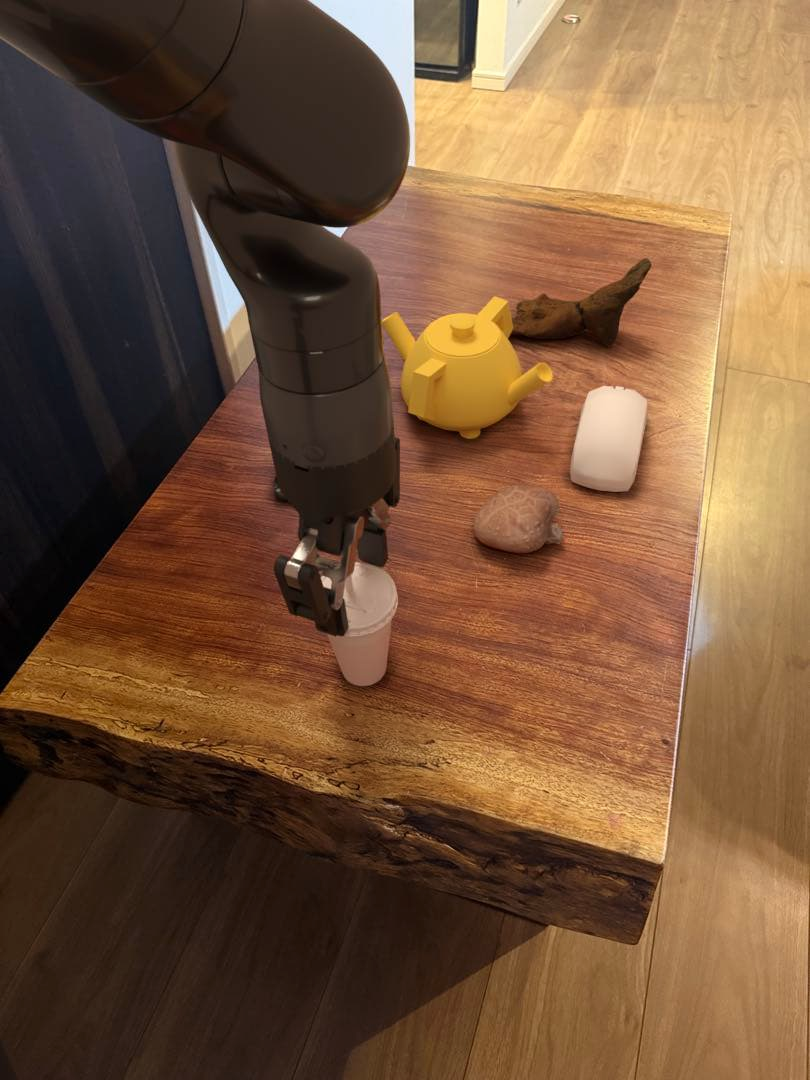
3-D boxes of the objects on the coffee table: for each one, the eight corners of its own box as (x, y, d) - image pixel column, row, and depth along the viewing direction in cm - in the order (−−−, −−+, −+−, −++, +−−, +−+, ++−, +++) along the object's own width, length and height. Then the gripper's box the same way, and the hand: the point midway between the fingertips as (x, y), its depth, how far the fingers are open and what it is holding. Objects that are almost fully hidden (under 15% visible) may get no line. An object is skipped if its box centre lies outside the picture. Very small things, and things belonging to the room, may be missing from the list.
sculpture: (640, 269, 87) (506, 244, 92) (619, 365, 93) (494, 336, 98) (658, 255, 93) (531, 232, 99) (637, 346, 99) (518, 319, 104)
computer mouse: (646, 415, 89) (657, 367, 84) (631, 500, 81) (642, 451, 76) (585, 406, 90) (592, 358, 86) (564, 488, 82) (571, 440, 77)
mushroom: (577, 514, 80) (504, 472, 81) (587, 500, 74) (508, 454, 75) (537, 582, 79) (463, 538, 80) (542, 573, 73) (463, 526, 74)
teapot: (582, 394, 92) (595, 305, 83) (500, 493, 82) (505, 403, 74) (429, 339, 100) (427, 252, 91) (338, 423, 90) (326, 334, 82)
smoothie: (370, 622, 72) (357, 509, 62) (418, 670, 69) (413, 558, 58) (310, 663, 70) (285, 552, 59) (356, 715, 66) (339, 606, 56)
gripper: (328, 339, 55) (350, 515, 67) (210, 482, 46) (261, 654, 59) (434, 363, 53) (437, 541, 65) (331, 518, 44) (357, 689, 57)
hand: (353, 594), depth 62 cm, fingers closed on smoothie, 6 cm apart
